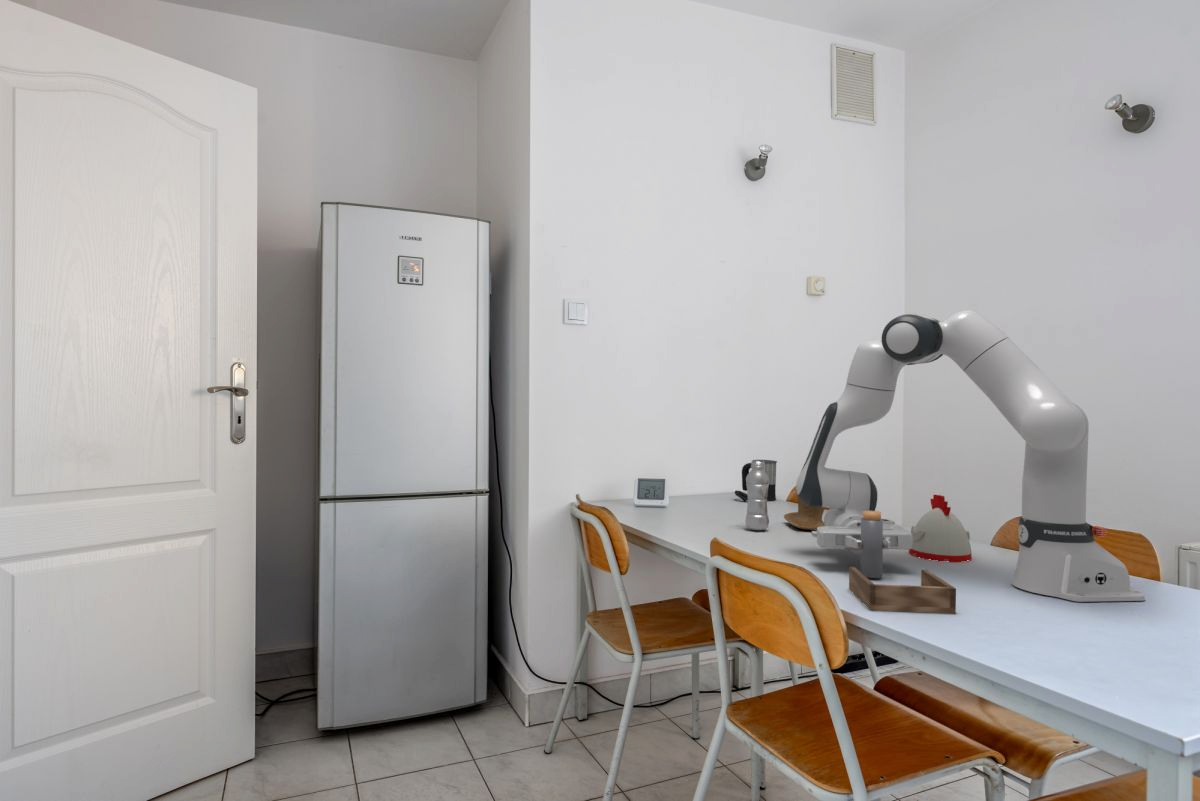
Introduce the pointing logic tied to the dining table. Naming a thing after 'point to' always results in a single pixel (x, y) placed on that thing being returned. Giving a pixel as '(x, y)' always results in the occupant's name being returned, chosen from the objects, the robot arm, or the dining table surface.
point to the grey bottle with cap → (871, 544)
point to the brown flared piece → (806, 517)
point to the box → (905, 594)
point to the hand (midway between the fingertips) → (872, 545)
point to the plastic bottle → (757, 497)
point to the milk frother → (771, 473)
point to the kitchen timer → (940, 535)
